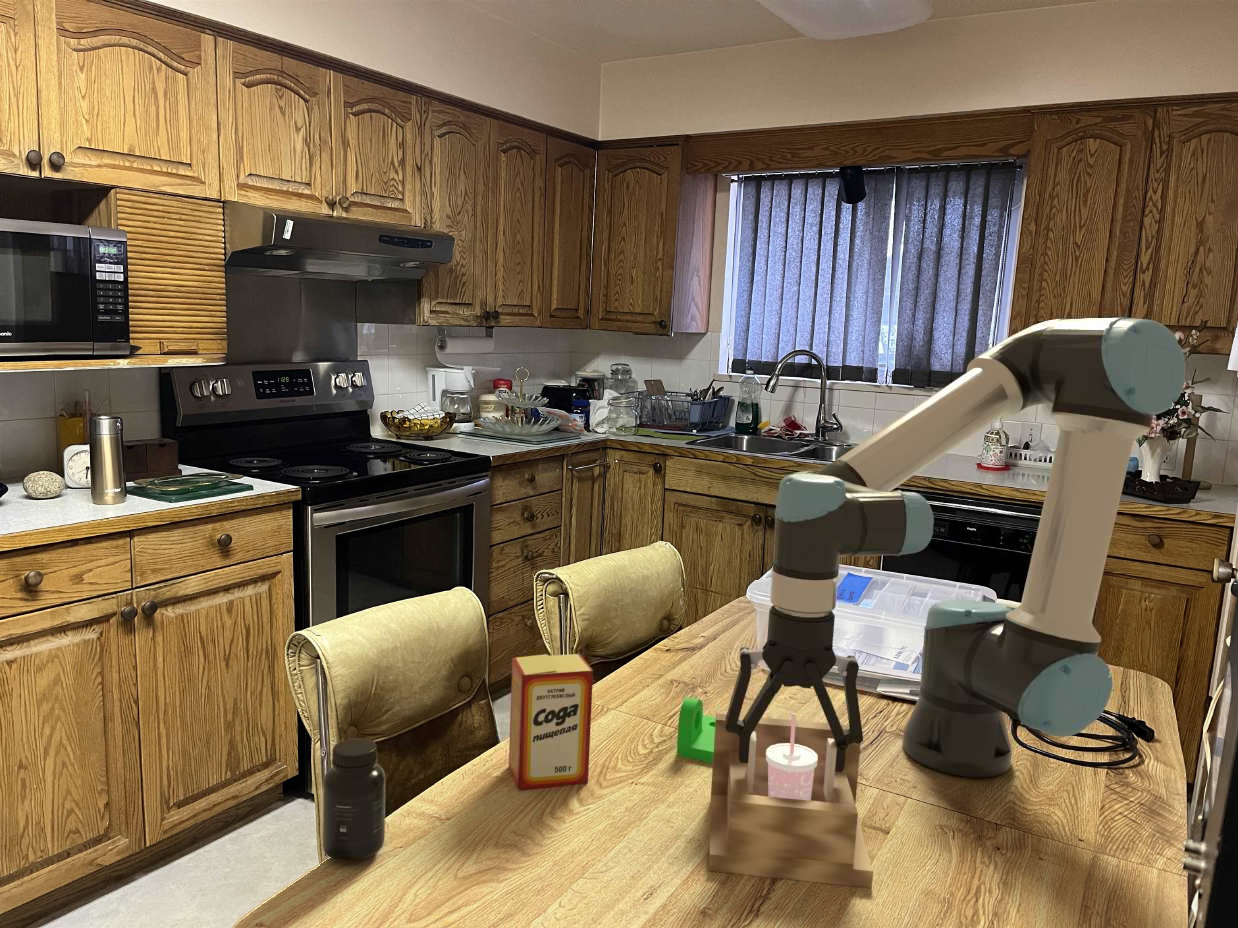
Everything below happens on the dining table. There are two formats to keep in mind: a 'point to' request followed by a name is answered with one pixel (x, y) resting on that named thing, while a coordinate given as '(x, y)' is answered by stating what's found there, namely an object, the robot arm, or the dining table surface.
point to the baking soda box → (550, 720)
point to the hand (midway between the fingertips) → (788, 791)
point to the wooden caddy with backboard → (785, 812)
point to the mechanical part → (695, 731)
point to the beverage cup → (790, 769)
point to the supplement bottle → (353, 802)
